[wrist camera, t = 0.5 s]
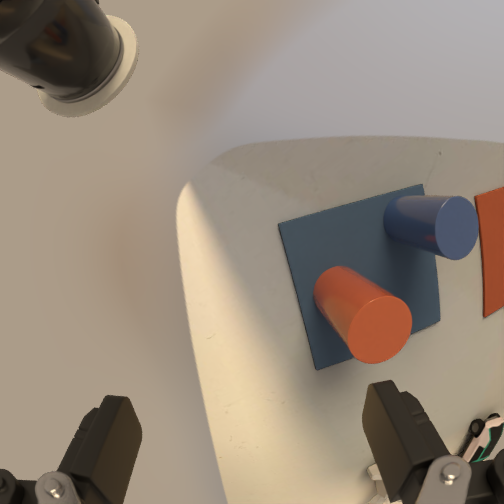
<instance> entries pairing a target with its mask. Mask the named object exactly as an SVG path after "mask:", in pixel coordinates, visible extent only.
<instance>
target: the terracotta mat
mask: <svg viewBox="0 0 504 504" xmlns="http://www.w3.org/2000/svg"><path fill="white" fill-rule="evenodd" d="M475 203H476V209H477V216H478V223H479V232H480V242H481V253H482V268H483V316H484V317H486V316H488V315H490V314H491V313H493V312H495V311H496V310H498V309H499V308H501V307H503V306H504V187H502V188H499V189H496V190H493V191H490V192H487V193H483V194H480V195H477V196H475Z"/></svg>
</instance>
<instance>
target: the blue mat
mask: <svg viewBox="0 0 504 504" xmlns="http://www.w3.org/2000/svg"><path fill="white" fill-rule="evenodd" d="M399 195H425V194H424V189H423V184H419V185H416V186H412V187H408V188H404V189H401V190H397V191H393V192H390V193H386V194H382V195H379V196H375V197H371V198H368V199H364V200H360V201H357V202H353V203H349V204H346V205H342V206H339V207H335V208H332V209H328V210H324V211H321V212H317V213H314V214H310V215H307V216H303V217H300V218H296V219H293V220H289V221H286V222H282V223H279V224H278V226H279V229H280V233H281V236H282V240H283V244H284V247H285V251H286V255H287V258H288V262H289V266H290V270H291V273H292V277H293V281H294V285H295V288H296V292H297V296H298V300H299V304H300V308H301V312H302V315H303V319H304V323H305V327H306V331H307V335H308V339H309V343H310V347H311V351H312V356H313V360H314V364H315V368H316V370H319V369H322V368H325V367H328V366H331V365H334V364H337V363H340V362H342V361H345V360H348V359H351V358H353V357H354V356H353V355H352V353H351V352H350V351H349V349H348V348H347V347H346V345H345V344H344V343H343V341H342V340H341V339H340V337H339V336H338V335H337V333H336V332H335V331H334V329H333V328H332V327H331V325H330V324H329V323H328V321H327V320H326V319H325V317H324V316H323V315H322V313H321V312H320V311H319V309H318V308H317V306H316V305H315V302H314V298H313V290H314V286H315V283H316V281H317V280H318V278H319V277H320V276H321V274H323V273H324V272H325V271H326V270H328V269H330V268H332V267H336V266H346V267H349V268H351V269H353V270H355V271H356V272H358V273H359V274H361V275H363V276H364V277H366V278H367V279H369V280H371V281H372V282H374V283H376V284H377V285H379V286H380V287H382V288H384V289H385V290H387V291H388V292H390V293H391V294H393V295H395V296H396V297H398V298H399V299H401V300H402V301H404V302H405V303H406V305H407V306H408V307H409V310H410V312H411V316H412V328H411V332H410V334H412V333H414V332H417V331H419V330H421V329H423V328H425V327H428V326H430V325H432V324H434V323H436V322H438V321H440V303H439V289H438V278H437V269H436V260H435V254H432V253H429V252H425V251H422V250H419V249H416V248H412V247H409V246H406V245H402V244H399V243H396V242H395V241H393V240H392V239H391V238H390V237H389V236H388V234H387V233H386V230H385V227H384V212H385V209H386V207H387V205H388V204H389V202H390V201H391V200H392V199H393V198H395V197H397V196H399Z"/></svg>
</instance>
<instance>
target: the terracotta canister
mask: <svg viewBox="0 0 504 504" xmlns="http://www.w3.org/2000/svg"><path fill="white" fill-rule="evenodd" d="M313 298H314V302H315V305H316V306H317V308H318V309H319V311H320V312H321V313H322V315H323V316H324V317H325V319H326V320H327V321H328V323H329V324H330V325H331V327H332V328H333V329H334V331H335V332H336V333H337V335H338V336H339V337H340V339H341V340H342V341H343V343H344V344H345V345H346V347H347V348H348V349H349V351H350V352H351V353H352V355H353V356H354V357H355V358H356V359H358V360H359V361H361V362H364V363H369V364H374V363H380V362H383V361H386V360H388V359H390V358H391V357H393V356H394V355H396V354H397V353H398V352H399V351H400V350H401V349H402V347H403V346H404V345H405V343H406V342H407V340H408V338H409V335H410V332H411V328H412V316H411V312H410V310H409V307H408V306H407V305H406V303H405V302H404V301H402V300H401V299H399V298H398V297H396V296H395V295H393V294H391V293H390V292H388V291H387V290H385V289H384V288H382V287H380V286H379V285H377V284H376V283H374V282H372V281H371V280H369V279H367V278H366V277H364V276H363V275H361V274H359V273H358V272H356V271H355V270H353V269H351V268H349V267H346V266H336V267H332V268H330V269H328V270H326V271H325V272H324V273H323V274H321V276H320V277H319V278H318V280H317V281H316V283H315V286H314V290H313Z"/></svg>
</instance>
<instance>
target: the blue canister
mask: <svg viewBox="0 0 504 504" xmlns="http://www.w3.org/2000/svg"><path fill="white" fill-rule="evenodd" d="M384 227H385V230H386V233H387V234H388V236H389V237H390V238H391V239H392V240H393V241H395V242H396V243H399V244H402V245H406V246H409V247H412V248H416V249H419V250H422V251H425V252H429V253H432V254H435V255H438V256H441V257H444V258H447V259H451V260H459V259H462V258H464V257H465V256H467V255H468V254H469V253H470V252H471V250H472V249H473V247H474V245H475V243H476V240H477V237H478V230H479V223H478V216H477V213H476V210H475V208H474V207H473V205H472V204H471V203H470V201H468V200H467V199H466V198H464V197H461V196H439V195H399V196H397V197H395V198H393V199H392V200H391V201H390V202H389V204H388V205H387V207H386V209H385V212H384Z"/></svg>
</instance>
